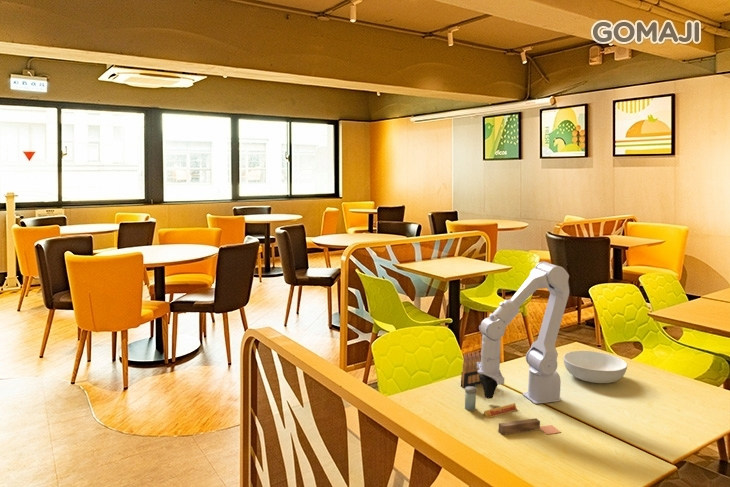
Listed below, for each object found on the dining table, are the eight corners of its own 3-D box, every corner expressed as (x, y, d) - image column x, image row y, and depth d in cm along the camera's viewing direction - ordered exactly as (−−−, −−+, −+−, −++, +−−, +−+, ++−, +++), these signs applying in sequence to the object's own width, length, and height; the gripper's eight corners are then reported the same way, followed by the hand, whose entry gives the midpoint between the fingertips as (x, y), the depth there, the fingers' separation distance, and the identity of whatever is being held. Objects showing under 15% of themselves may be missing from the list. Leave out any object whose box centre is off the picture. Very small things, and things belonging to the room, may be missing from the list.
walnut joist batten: (535, 426, 164) (536, 418, 164) (539, 429, 162) (540, 421, 162) (498, 431, 161) (498, 423, 160) (501, 434, 159) (502, 426, 159)
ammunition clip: (463, 388, 191) (464, 354, 190) (460, 386, 193) (461, 352, 191) (488, 382, 196) (489, 349, 195) (485, 380, 198) (486, 347, 196)
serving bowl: (637, 390, 190) (638, 371, 189) (574, 390, 190) (575, 370, 189) (611, 368, 211) (612, 350, 210) (554, 367, 211) (555, 349, 210)
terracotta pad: (551, 425, 165) (551, 424, 165) (560, 432, 160) (561, 432, 160) (538, 427, 163) (538, 426, 163) (547, 434, 159) (547, 434, 159)
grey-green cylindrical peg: (472, 405, 178) (473, 385, 177) (477, 410, 175) (478, 389, 174) (462, 406, 177) (463, 387, 176) (467, 411, 174) (468, 391, 173)
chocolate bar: (517, 411, 175) (518, 404, 174) (487, 419, 169) (487, 412, 169) (511, 408, 177) (512, 401, 177) (481, 416, 171) (481, 409, 171)
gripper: (468, 349, 183) (467, 390, 185) (490, 365, 169) (488, 408, 171) (488, 348, 185) (486, 387, 187) (511, 363, 171) (509, 406, 173)
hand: (488, 397), depth 179 cm, fingers closed
